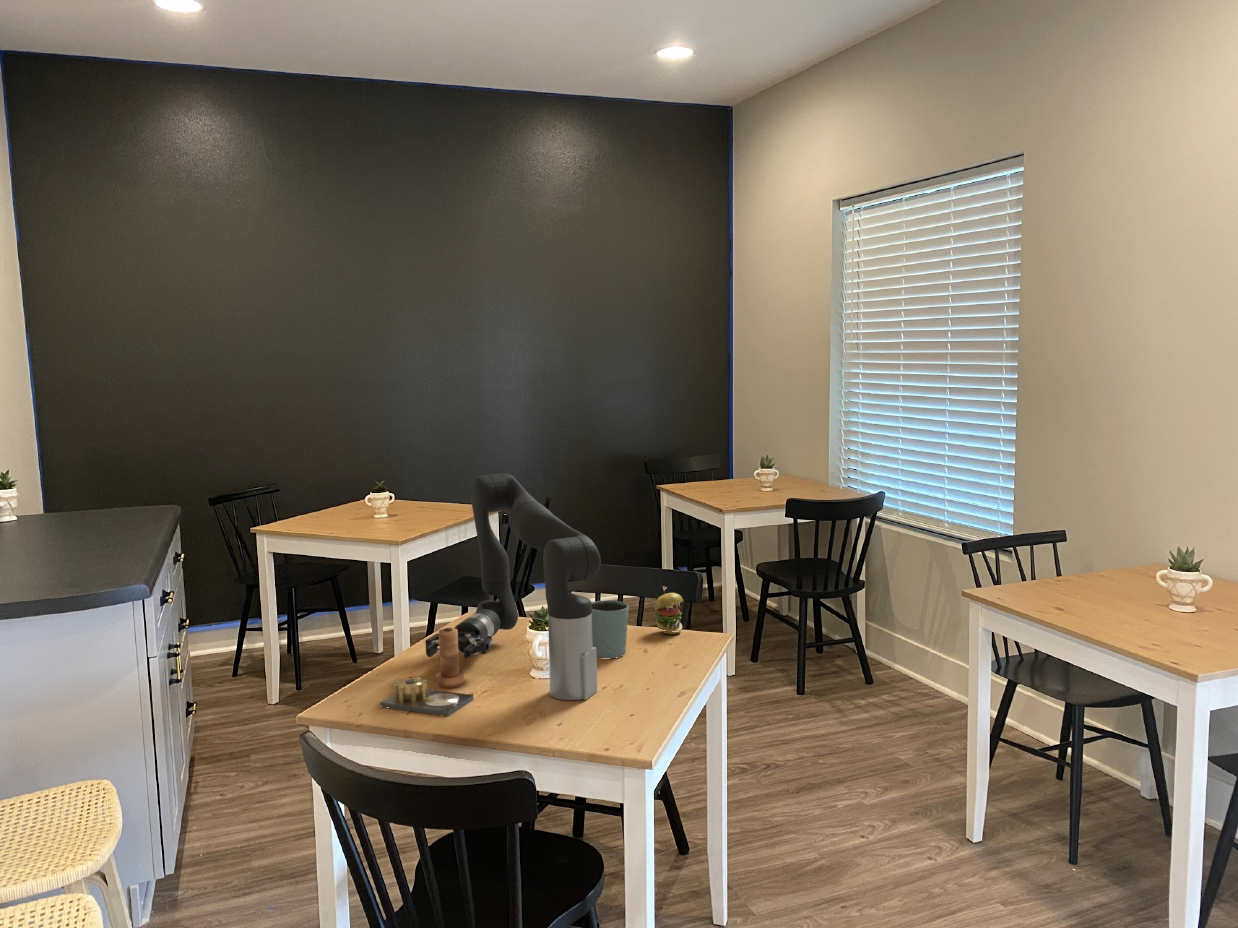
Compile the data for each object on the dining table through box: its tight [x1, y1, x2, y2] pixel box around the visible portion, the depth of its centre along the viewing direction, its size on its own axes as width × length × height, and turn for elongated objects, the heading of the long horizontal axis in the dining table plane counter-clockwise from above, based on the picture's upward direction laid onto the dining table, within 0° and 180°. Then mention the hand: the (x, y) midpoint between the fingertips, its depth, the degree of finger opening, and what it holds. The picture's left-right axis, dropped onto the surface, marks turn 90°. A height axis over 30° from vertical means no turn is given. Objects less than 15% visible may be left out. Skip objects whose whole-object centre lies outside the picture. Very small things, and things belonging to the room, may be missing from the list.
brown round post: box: [435, 627, 465, 690], centre depth 200 cm, size 6×6×12 cm
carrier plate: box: [379, 688, 474, 717], centre depth 188 cm, size 16×10×1 cm, turn 69°
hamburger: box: [654, 585, 684, 635], centre depth 237 cm, size 8×7×12 cm
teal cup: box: [591, 600, 630, 659], centre depth 219 cm, size 10×10×12 cm
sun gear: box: [392, 676, 428, 702], centre depth 190 cm, size 7×7×3 cm
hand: (446, 653), depth 198 cm, fingers open, 8 cm apart
